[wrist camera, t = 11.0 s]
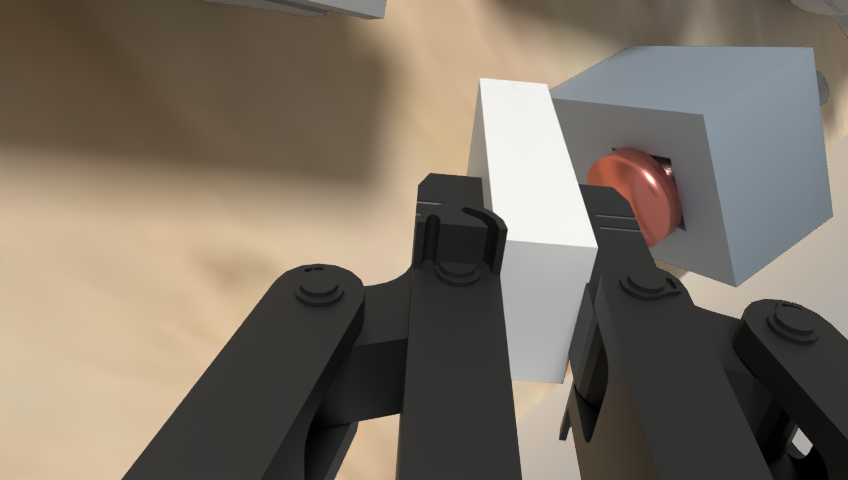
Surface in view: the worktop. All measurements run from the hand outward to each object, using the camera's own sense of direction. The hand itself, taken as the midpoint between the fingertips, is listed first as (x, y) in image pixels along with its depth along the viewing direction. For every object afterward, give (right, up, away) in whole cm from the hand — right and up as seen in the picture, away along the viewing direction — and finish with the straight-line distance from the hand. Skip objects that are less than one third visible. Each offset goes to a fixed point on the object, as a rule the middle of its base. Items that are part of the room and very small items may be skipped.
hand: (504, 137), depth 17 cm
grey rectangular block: (+10, +4, +32) cm, 34 cm away
